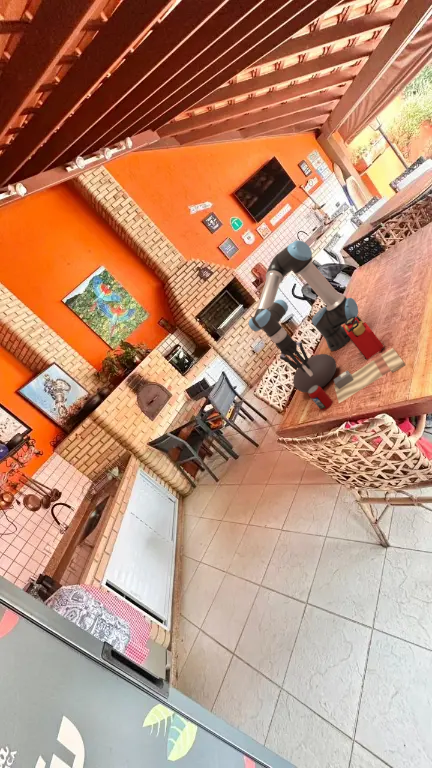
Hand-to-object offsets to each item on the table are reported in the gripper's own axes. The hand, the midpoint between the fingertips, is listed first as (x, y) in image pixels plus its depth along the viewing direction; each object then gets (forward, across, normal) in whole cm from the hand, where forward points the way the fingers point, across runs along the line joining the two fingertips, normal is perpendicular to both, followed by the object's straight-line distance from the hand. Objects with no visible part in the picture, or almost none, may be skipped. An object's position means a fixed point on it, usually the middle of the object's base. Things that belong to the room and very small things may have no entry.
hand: (311, 374), depth 186 cm
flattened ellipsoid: (+15, -2, +17) cm, 22 cm away
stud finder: (+13, +10, 0) cm, 17 cm away
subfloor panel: (+14, +20, -5) cm, 25 cm away
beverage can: (+15, -2, -9) cm, 18 cm away
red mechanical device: (+15, +28, +16) cm, 35 cm away
